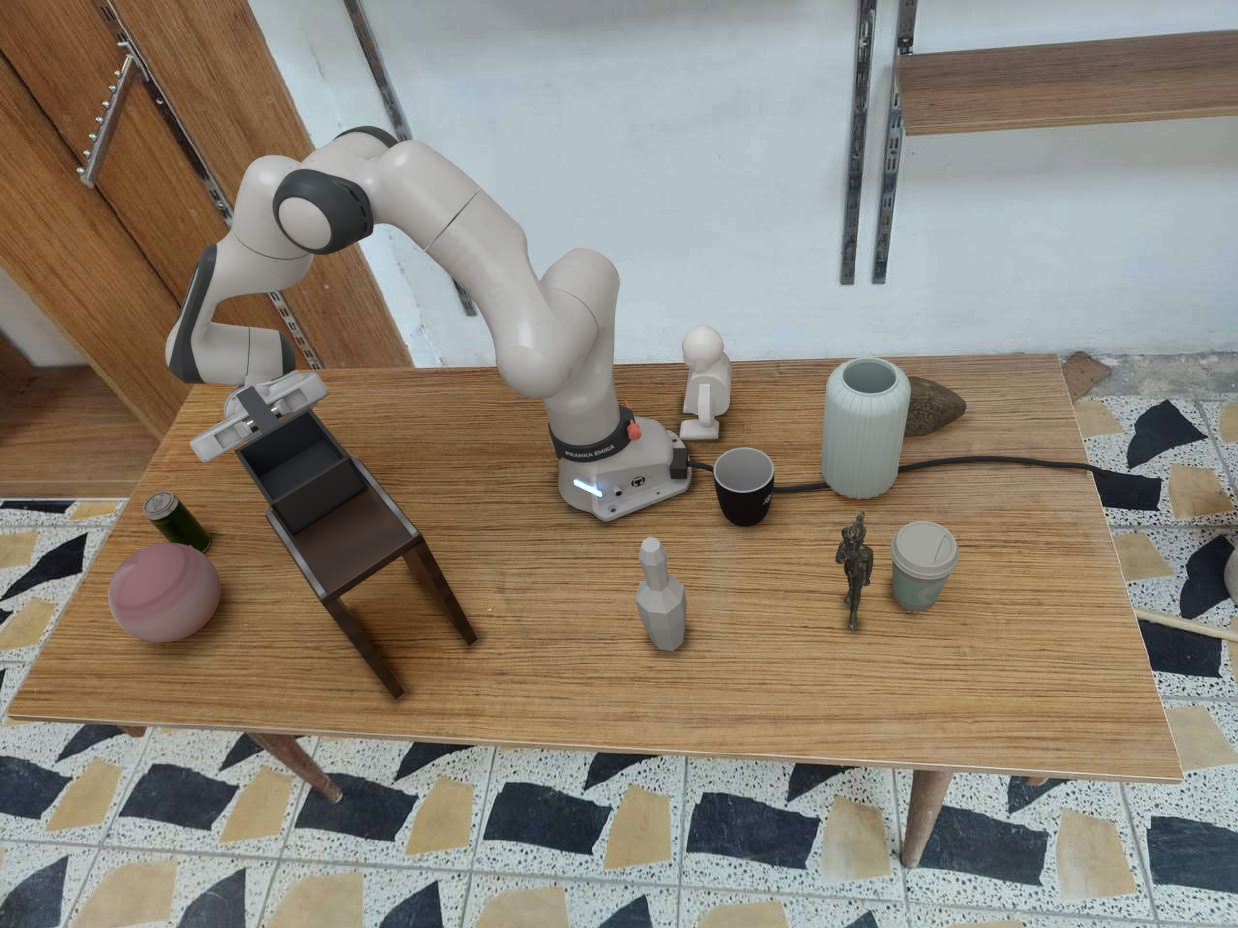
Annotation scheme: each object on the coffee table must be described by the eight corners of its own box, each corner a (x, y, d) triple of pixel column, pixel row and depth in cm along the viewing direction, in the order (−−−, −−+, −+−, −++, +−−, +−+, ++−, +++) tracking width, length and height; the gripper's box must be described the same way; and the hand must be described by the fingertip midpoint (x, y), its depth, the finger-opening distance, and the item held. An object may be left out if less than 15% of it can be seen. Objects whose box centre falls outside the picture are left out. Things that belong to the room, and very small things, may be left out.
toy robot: (685, 391, 148) (675, 302, 133) (735, 391, 146) (730, 301, 132) (677, 448, 139) (666, 359, 125) (730, 448, 137) (725, 359, 123)
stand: (478, 639, 120) (419, 529, 100) (395, 699, 115) (316, 597, 95) (419, 566, 130) (356, 453, 111) (342, 618, 126) (261, 511, 106)
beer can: (212, 552, 139) (174, 508, 130) (181, 563, 138) (140, 520, 129) (212, 529, 142) (175, 485, 133) (181, 540, 141) (142, 496, 133)
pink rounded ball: (143, 602, 133) (86, 548, 122) (233, 564, 136) (186, 508, 125) (145, 676, 124) (84, 625, 113) (243, 634, 126) (192, 580, 115)
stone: (951, 398, 138) (959, 363, 132) (969, 436, 132) (978, 400, 126) (850, 412, 139) (853, 377, 133) (863, 449, 133) (867, 415, 127)
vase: (812, 498, 128) (818, 396, 112) (829, 446, 135) (836, 342, 118) (888, 514, 124) (905, 410, 108) (901, 459, 131) (919, 354, 114)
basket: (368, 487, 107) (350, 456, 102) (291, 535, 103) (270, 505, 99) (297, 400, 121) (279, 369, 116) (227, 439, 117) (206, 409, 113)
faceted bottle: (676, 663, 112) (660, 574, 96) (637, 644, 115) (615, 554, 99) (698, 627, 116) (686, 535, 100) (660, 610, 119) (641, 517, 102)
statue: (828, 632, 112) (835, 547, 98) (832, 593, 116) (840, 506, 102) (863, 638, 111) (876, 552, 96) (866, 598, 115) (880, 511, 100)
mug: (770, 537, 124) (769, 495, 117) (712, 530, 127) (708, 488, 119) (780, 478, 132) (780, 435, 124) (725, 472, 134) (722, 430, 127)
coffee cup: (911, 630, 111) (922, 581, 102) (870, 586, 116) (877, 535, 107) (960, 601, 113) (976, 551, 104) (918, 558, 118) (929, 507, 109)
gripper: (180, 431, 121) (179, 439, 109) (305, 364, 128) (317, 364, 116) (205, 467, 123) (207, 478, 111) (327, 399, 130) (341, 402, 118)
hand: (264, 419), depth 114 cm, fingers closed on basket, 3 cm apart
